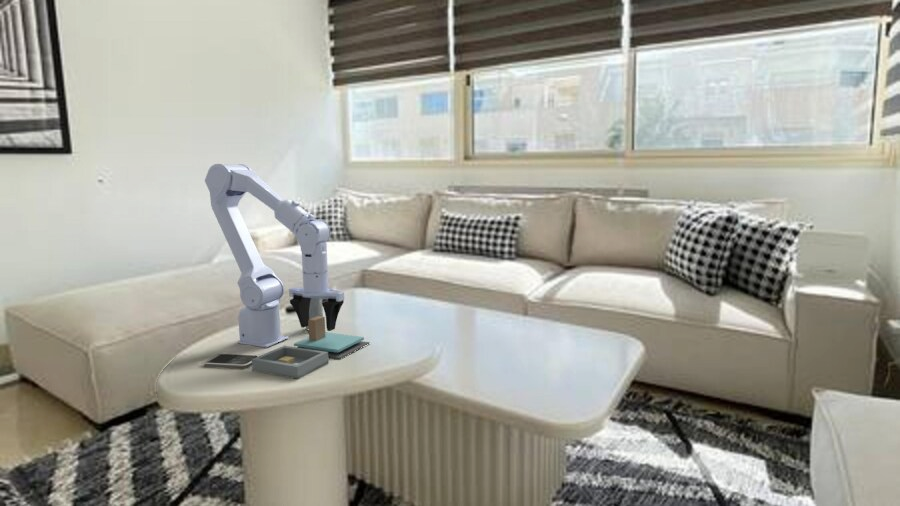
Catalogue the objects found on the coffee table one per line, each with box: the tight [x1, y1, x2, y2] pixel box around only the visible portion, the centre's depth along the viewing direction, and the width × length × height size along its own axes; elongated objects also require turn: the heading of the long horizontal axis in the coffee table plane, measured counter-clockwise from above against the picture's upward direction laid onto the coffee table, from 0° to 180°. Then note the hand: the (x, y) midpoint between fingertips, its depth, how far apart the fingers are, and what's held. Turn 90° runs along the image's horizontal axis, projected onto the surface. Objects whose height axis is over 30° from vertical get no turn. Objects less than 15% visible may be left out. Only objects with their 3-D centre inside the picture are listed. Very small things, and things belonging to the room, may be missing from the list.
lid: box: [293, 316, 365, 353], centre depth 129 cm, size 12×10×6 cm
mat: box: [296, 340, 371, 360], centre depth 129 cm, size 14×12×1 cm
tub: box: [251, 345, 329, 380], centre depth 116 cm, size 12×10×2 cm
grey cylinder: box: [305, 298, 324, 329], centre depth 145 cm, size 4×4×10 cm
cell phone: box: [200, 353, 259, 370], centre depth 120 cm, size 6×11×1 cm, turn 80°
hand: (317, 328), depth 130 cm, fingers open, 7 cm apart
